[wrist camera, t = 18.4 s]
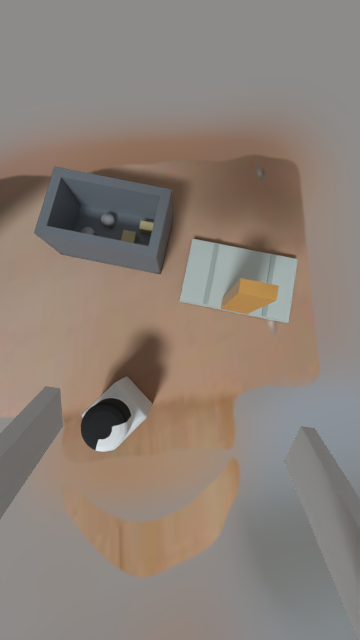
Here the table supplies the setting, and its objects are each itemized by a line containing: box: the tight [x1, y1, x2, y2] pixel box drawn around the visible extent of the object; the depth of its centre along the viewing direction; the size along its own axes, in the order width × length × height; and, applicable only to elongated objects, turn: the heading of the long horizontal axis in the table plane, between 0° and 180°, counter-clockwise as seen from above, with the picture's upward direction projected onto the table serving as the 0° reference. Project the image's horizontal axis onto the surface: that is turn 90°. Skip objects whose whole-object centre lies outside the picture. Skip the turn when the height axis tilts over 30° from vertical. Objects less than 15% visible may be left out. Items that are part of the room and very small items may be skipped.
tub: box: [34, 167, 173, 274], centre depth 39 cm, size 20×12×8 cm, turn 78°
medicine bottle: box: [81, 376, 152, 452], centre depth 33 cm, size 7×7×12 cm
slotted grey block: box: [180, 239, 297, 323], centre depth 35 cm, size 20×12×14 cm, turn 78°
